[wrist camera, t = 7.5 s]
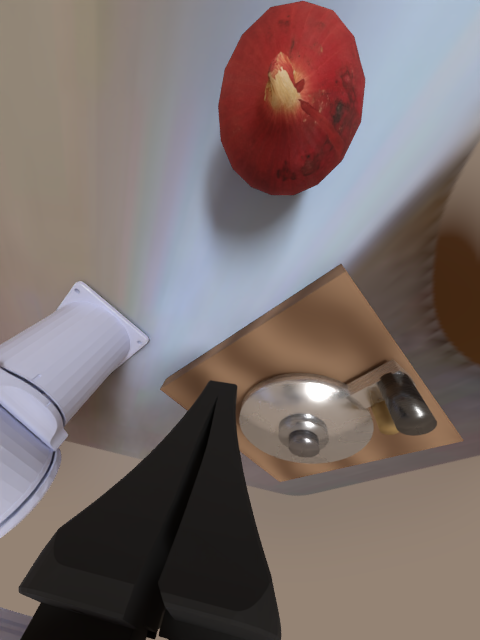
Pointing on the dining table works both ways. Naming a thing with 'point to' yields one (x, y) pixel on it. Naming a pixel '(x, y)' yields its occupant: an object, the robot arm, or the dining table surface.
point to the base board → (313, 367)
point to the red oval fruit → (291, 98)
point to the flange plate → (329, 413)
